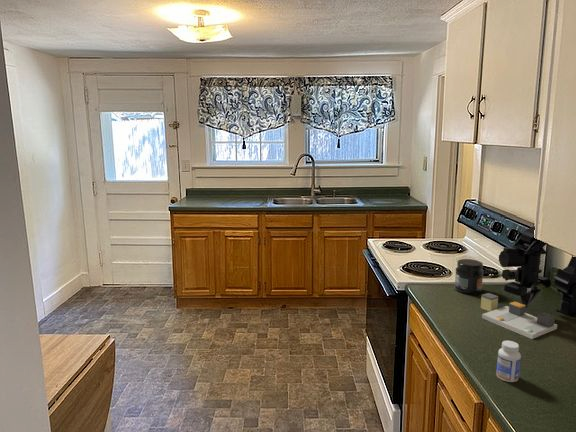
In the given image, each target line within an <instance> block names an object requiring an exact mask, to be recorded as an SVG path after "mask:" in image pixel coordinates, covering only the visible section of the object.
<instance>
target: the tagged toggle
mask: <svg viewBox="0 0 576 432" xmlns="http://www.w3.org/2000/svg"><path fill="white" fill-rule="evenodd" d="M508 305H509V306H508V307H509V312H510V313H513V314H515V315H518V316H521V315H524V314H525V313H526V308H525V307H526V305H523V304H522V302H521V303H520V302H517V301H513V302H509V304H508Z"/></svg>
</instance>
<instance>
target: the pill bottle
mask: <svg viewBox="0 0 576 432" xmlns="http://www.w3.org/2000/svg"><path fill="white" fill-rule="evenodd" d="M519 350H520V346H519V343H517V342H515V341H513V340H503V341H502V342H501V348H499V349H498V352H497V360H496V361H497V362H496V377H497V378H498V379H499V380H501V381H504V382H506V383H507V382H508V383H516V382H518V380H519V378H520V368H521V362H522V360H521V359H522V355H521V354H522V353H520V352H519Z"/></svg>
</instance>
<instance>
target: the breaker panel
mask: <svg viewBox="0 0 576 432" xmlns="http://www.w3.org/2000/svg"><path fill="white" fill-rule="evenodd" d="M481 319H483V320H486V321H487V322H490V323H492V324H494V325H497V326H499V327H502V328H503V329H504V328H505V329H507V330H509V331H512V332H514V333H517V334H519V335H521V336H523V337H526V338H528V339H531V340H534V339H535V338H538V337H541V336H542V335H545V334H547V333H550V332H552V331H555V330H557V329H558V324H556V323H554V325H553V326H551V327H547V326H544V325H542V324H539V323H537V316H535V315H533V314H531V313H530V314H529V313H527V312H525V314H524V315H521V316H518V315H515V314H513V313H510V312H509V306H508V305H505V306H503V307H502V306H501V307H499V308H497V309H496V310H493V311H487V312H484V313H482V314H481Z"/></svg>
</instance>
